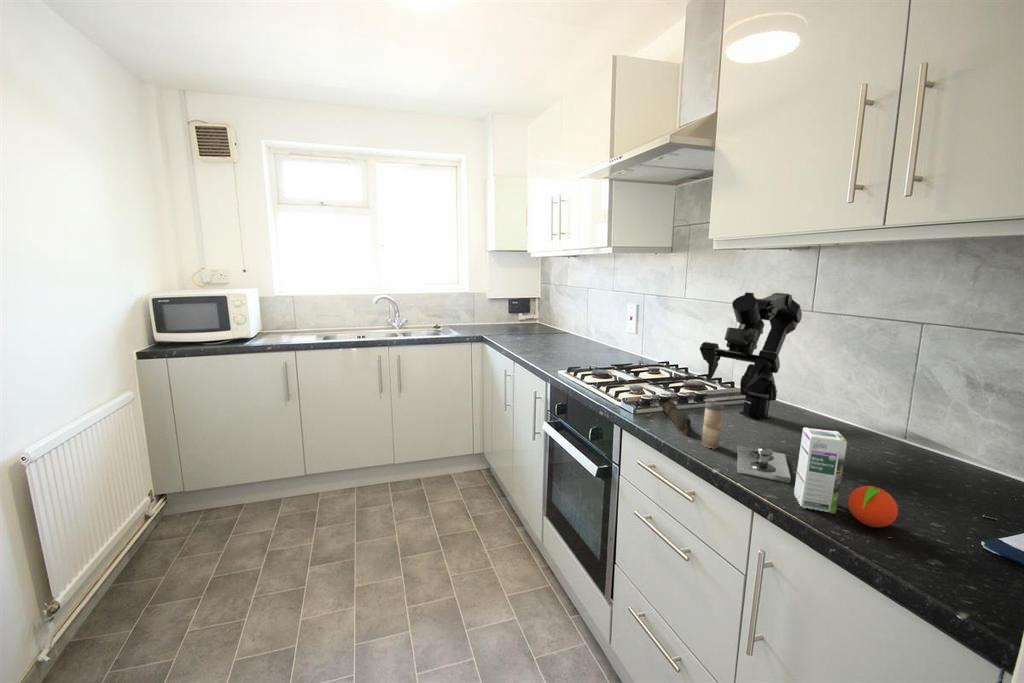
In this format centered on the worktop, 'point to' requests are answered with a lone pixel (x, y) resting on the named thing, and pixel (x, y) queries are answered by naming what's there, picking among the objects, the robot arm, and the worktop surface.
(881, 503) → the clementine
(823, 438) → the syrup box
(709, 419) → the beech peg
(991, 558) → the worktop surface
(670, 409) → the brown rough bar
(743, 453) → the plate
